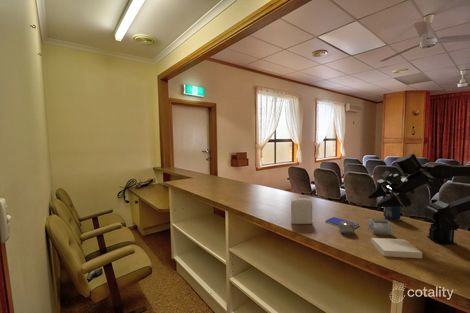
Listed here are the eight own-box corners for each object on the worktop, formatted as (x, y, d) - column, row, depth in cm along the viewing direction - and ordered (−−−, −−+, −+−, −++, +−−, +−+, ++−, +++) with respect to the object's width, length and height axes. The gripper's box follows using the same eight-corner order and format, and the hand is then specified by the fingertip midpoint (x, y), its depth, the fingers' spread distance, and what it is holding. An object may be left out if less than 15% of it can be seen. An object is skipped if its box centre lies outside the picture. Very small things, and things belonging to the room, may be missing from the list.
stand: (404, 244, 85) (404, 239, 85) (422, 258, 75) (422, 252, 75) (370, 242, 87) (371, 237, 87) (383, 256, 77) (384, 250, 77)
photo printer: (292, 224, 106) (292, 199, 105) (290, 221, 111) (290, 197, 110) (313, 224, 106) (313, 199, 105) (310, 221, 111) (310, 197, 110)
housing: (385, 230, 98) (385, 218, 98) (391, 235, 94) (391, 222, 93) (368, 229, 100) (368, 217, 99) (373, 234, 95) (373, 221, 94)
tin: (351, 230, 99) (351, 221, 99) (356, 235, 93) (357, 226, 93) (337, 229, 100) (337, 221, 100) (341, 235, 94) (341, 226, 94)
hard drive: (359, 223, 104) (334, 216, 114) (350, 228, 99) (325, 220, 109) (359, 226, 104) (334, 219, 114) (350, 231, 99) (325, 223, 109)
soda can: (399, 217, 113) (400, 194, 112) (401, 222, 107) (402, 198, 106) (383, 215, 117) (384, 193, 116) (384, 219, 111) (385, 196, 110)
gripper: (388, 162, 97) (355, 179, 101) (413, 172, 79) (371, 193, 83) (401, 182, 98) (368, 199, 102) (429, 197, 80) (387, 217, 84)
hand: (372, 201), depth 93 cm, fingers open, 9 cm apart
